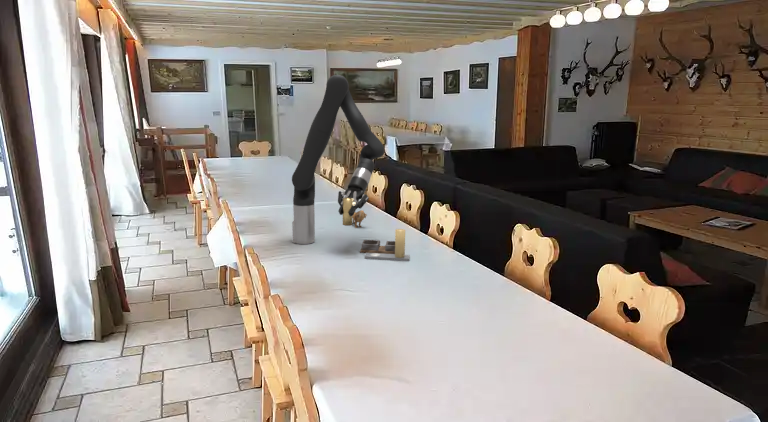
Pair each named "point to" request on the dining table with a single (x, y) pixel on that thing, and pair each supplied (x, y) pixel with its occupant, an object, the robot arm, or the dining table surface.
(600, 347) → the dining table surface
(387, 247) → the double bowl tray
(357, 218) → the lion figurine
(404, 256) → the plate
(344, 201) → the brass pin
